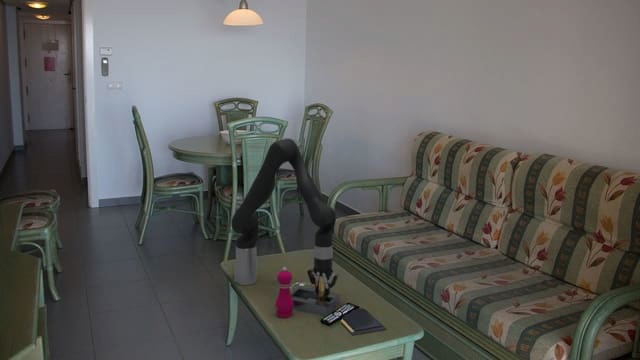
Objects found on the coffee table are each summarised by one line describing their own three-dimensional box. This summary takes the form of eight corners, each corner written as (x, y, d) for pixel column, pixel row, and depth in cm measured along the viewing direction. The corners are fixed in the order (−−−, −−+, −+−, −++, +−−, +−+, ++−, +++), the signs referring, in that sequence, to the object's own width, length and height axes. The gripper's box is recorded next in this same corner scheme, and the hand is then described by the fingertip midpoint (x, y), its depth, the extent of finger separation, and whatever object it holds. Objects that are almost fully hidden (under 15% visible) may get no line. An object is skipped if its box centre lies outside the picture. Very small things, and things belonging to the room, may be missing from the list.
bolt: (311, 308, 231) (312, 276, 228) (318, 302, 237) (318, 271, 234) (326, 311, 229) (326, 279, 226) (332, 304, 235) (333, 273, 232)
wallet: (387, 327, 214) (351, 333, 209) (387, 331, 214) (350, 337, 209) (365, 305, 232) (331, 310, 227) (365, 309, 232) (331, 314, 227)
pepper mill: (286, 319, 221) (286, 272, 216) (271, 315, 224) (271, 268, 220) (296, 313, 227) (297, 266, 222) (282, 308, 230) (282, 262, 226)
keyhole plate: (284, 306, 232) (284, 298, 231) (299, 294, 245) (299, 286, 244) (326, 316, 225) (327, 307, 224) (339, 302, 237) (340, 294, 236)
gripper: (303, 255, 228) (303, 295, 231) (335, 261, 222) (334, 301, 226) (311, 250, 234) (310, 288, 238) (342, 255, 229) (341, 294, 232)
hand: (322, 294), depth 232 cm, fingers closed on bolt, 3 cm apart
